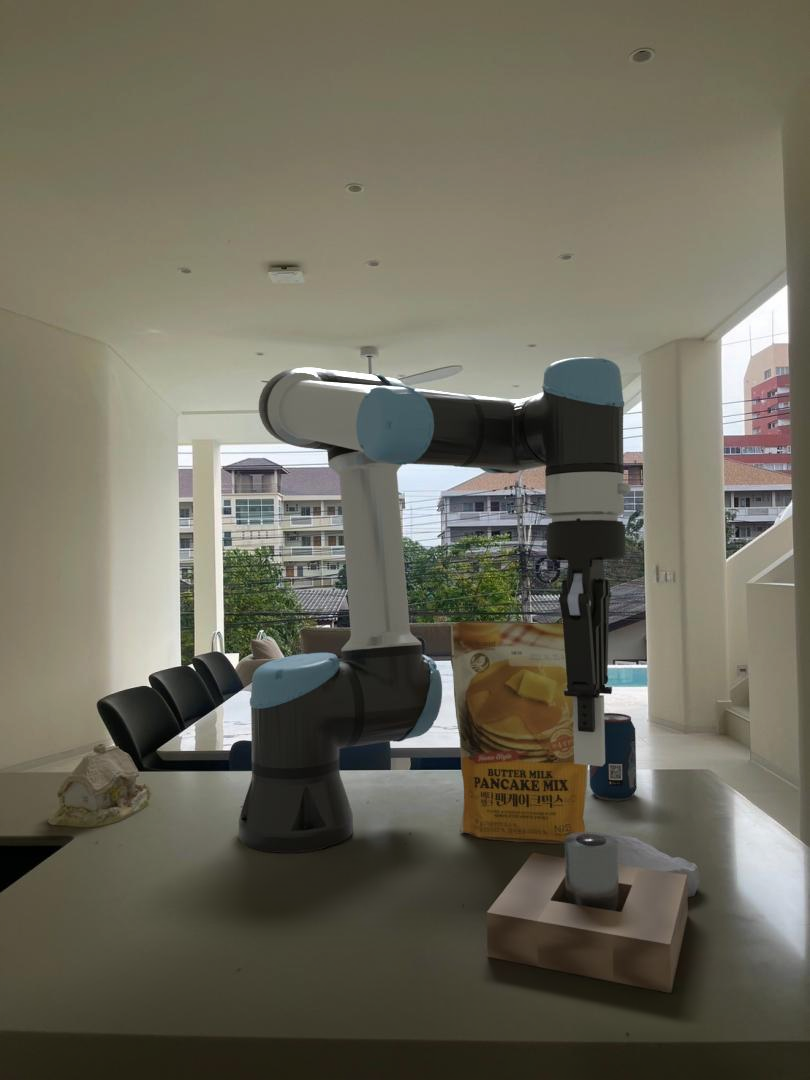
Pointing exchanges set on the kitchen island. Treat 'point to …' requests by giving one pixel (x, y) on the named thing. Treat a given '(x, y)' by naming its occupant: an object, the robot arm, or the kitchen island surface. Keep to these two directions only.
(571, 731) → the pancake mix bag
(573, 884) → the cylinder
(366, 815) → the kitchen island surface
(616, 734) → the soda can
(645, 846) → the stone block
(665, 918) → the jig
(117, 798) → the ceramic model
